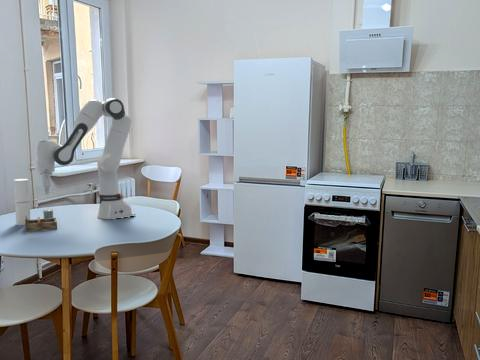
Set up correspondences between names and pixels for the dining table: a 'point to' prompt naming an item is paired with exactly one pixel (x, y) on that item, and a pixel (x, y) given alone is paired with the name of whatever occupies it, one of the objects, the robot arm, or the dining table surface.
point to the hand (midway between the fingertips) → (46, 192)
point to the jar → (48, 214)
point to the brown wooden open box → (40, 224)
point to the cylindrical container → (21, 200)
